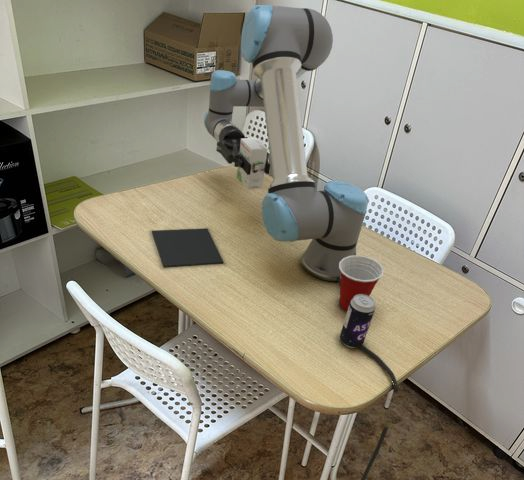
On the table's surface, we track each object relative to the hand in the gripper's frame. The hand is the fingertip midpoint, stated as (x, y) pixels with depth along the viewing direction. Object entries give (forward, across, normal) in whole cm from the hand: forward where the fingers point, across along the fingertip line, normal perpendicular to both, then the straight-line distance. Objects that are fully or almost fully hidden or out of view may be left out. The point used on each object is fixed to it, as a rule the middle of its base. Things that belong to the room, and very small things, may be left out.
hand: (258, 169), depth 145 cm
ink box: (-5, 0, -7) cm, 8 cm away
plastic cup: (+42, -10, -18) cm, 47 cm away
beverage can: (+55, -3, -18) cm, 58 cm away
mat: (+8, +22, -18) cm, 30 cm away
